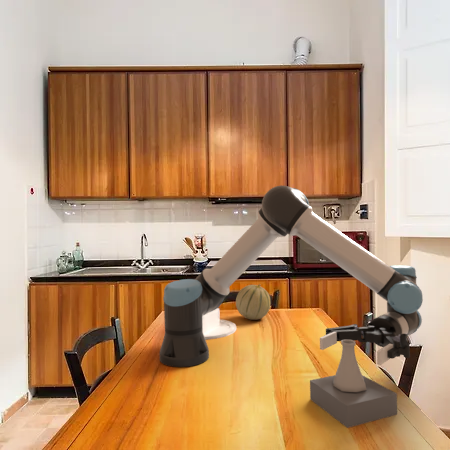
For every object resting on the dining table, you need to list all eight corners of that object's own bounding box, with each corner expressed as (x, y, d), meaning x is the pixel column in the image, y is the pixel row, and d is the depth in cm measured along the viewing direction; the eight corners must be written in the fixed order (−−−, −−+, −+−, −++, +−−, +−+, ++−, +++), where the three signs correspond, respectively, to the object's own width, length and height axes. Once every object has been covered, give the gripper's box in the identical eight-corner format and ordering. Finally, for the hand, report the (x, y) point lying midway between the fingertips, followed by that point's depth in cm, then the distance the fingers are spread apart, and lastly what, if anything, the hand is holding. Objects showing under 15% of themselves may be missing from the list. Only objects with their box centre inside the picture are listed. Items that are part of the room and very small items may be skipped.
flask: (372, 392, 79) (371, 346, 79) (339, 394, 79) (337, 347, 79) (358, 378, 87) (357, 336, 87) (328, 380, 86) (327, 337, 86)
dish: (180, 321, 159) (179, 295, 159) (238, 322, 156) (238, 295, 156) (164, 340, 134) (163, 308, 134) (233, 340, 131) (232, 309, 131)
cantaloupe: (235, 315, 166) (234, 281, 165) (267, 314, 166) (266, 280, 166) (238, 324, 151) (237, 287, 151) (274, 323, 152) (273, 286, 152)
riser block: (347, 430, 75) (346, 405, 74) (310, 401, 87) (309, 380, 87) (397, 416, 79) (396, 393, 79) (355, 391, 91) (354, 371, 91)
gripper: (441, 355, 88) (407, 384, 73) (343, 334, 106) (301, 354, 91) (440, 323, 88) (407, 346, 73) (343, 308, 106) (300, 323, 91)
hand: (348, 350), depth 82 cm, fingers open, 13 cm apart
